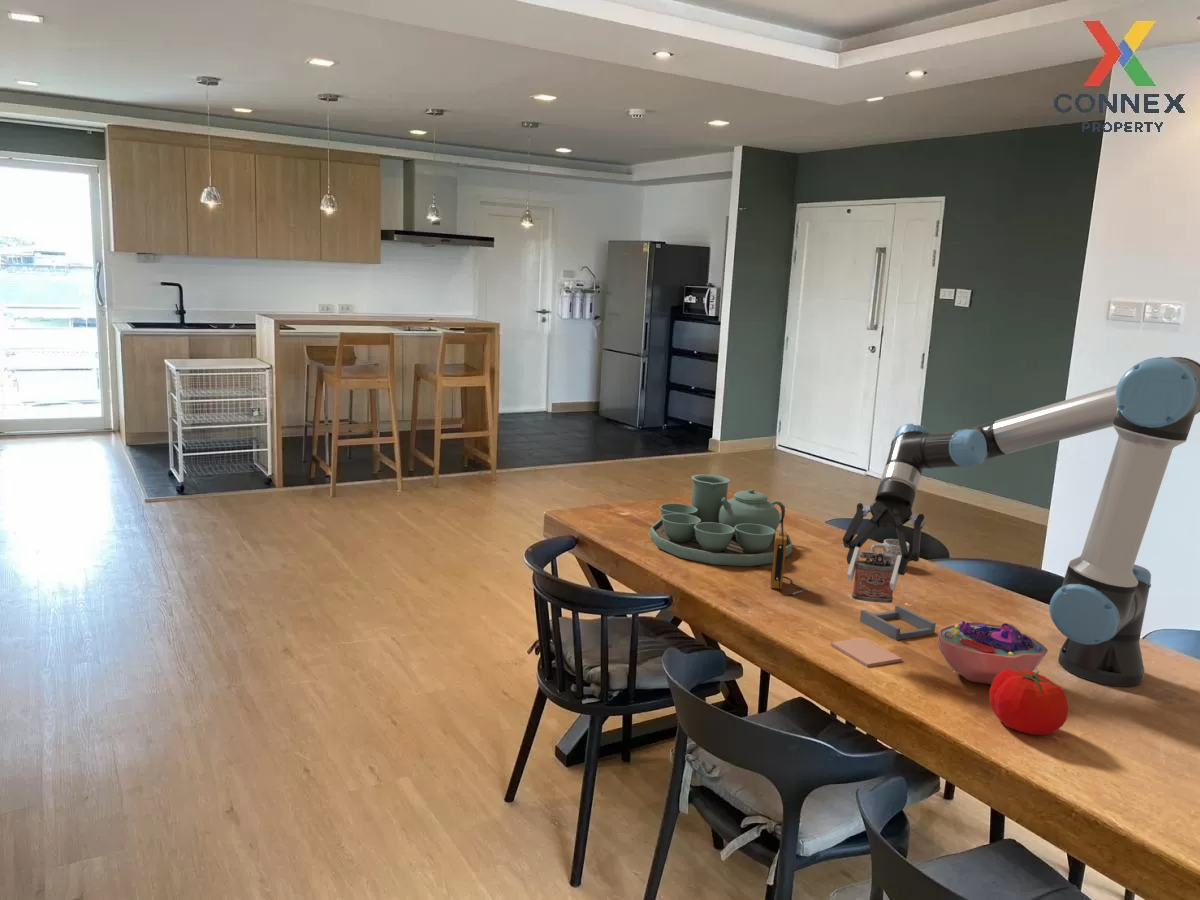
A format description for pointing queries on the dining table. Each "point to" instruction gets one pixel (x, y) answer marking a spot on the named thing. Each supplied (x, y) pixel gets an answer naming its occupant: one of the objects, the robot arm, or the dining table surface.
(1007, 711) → the tomato
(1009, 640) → the cell model
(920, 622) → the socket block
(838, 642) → the mat
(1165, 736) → the dining table surface
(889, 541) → the mug
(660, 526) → the tea set
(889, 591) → the lighter
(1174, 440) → the robot arm
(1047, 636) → the dining table surface
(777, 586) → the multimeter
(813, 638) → the dining table surface
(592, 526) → the dining table surface
